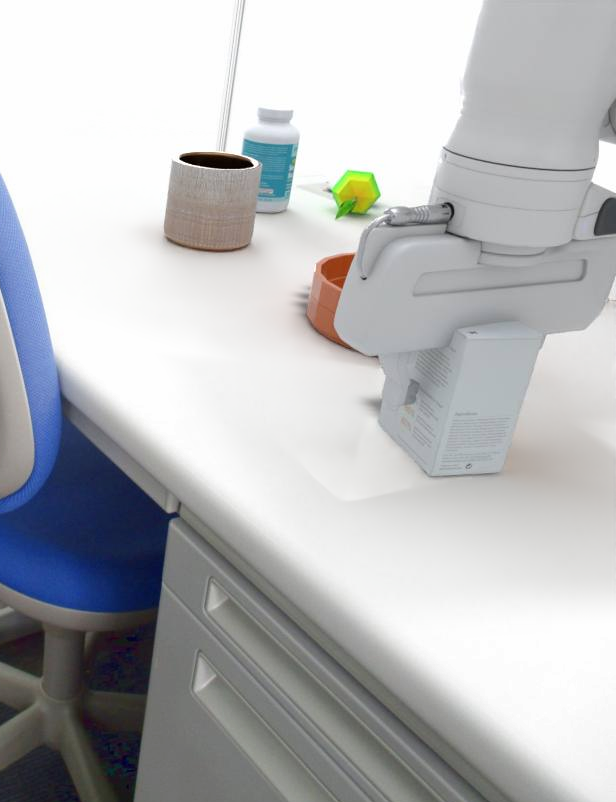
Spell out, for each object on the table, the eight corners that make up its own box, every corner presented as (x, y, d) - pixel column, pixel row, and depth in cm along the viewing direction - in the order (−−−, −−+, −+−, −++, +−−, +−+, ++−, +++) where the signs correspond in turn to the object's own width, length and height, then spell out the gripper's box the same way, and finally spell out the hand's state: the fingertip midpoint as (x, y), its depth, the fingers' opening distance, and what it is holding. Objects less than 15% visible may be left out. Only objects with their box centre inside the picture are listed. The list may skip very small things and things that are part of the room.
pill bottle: (294, 215, 119) (311, 112, 113) (241, 213, 118) (256, 110, 112) (279, 201, 126) (294, 103, 119) (228, 199, 125) (242, 101, 119)
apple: (359, 154, 121) (362, 166, 113) (389, 188, 122) (393, 202, 114) (318, 189, 125) (318, 203, 117) (347, 221, 126) (349, 238, 118)
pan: (403, 292, 93) (414, 247, 91) (519, 353, 80) (536, 302, 78) (274, 305, 88) (282, 257, 86) (375, 373, 75) (388, 319, 72)
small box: (502, 475, 61) (548, 336, 56) (428, 479, 60) (468, 337, 55) (441, 420, 68) (477, 292, 63) (374, 422, 67) (406, 292, 62)
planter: (155, 225, 111) (163, 148, 107) (238, 227, 113) (249, 151, 108) (172, 251, 102) (181, 169, 97) (262, 253, 103) (275, 172, 99)
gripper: (404, 223, 49) (354, 435, 56) (661, 207, 56) (590, 398, 62) (337, 194, 54) (299, 391, 61) (580, 183, 61) (522, 361, 68)
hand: (448, 394), depth 62 cm, fingers open, 8 cm apart
